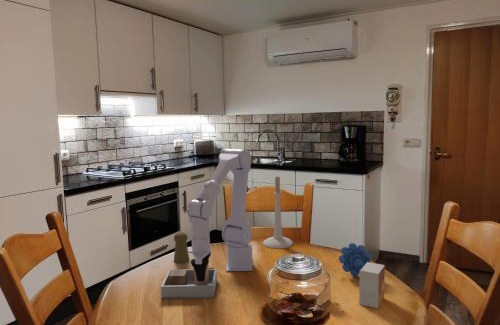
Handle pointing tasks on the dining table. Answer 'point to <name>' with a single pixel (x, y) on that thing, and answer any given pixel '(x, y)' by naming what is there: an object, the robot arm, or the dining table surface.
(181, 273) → the walnut cube
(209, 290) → the tote
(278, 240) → the candlestick
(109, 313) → the dining table surface
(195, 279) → the terracotta cylinder
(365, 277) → the small box
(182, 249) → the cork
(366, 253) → the blue flower
